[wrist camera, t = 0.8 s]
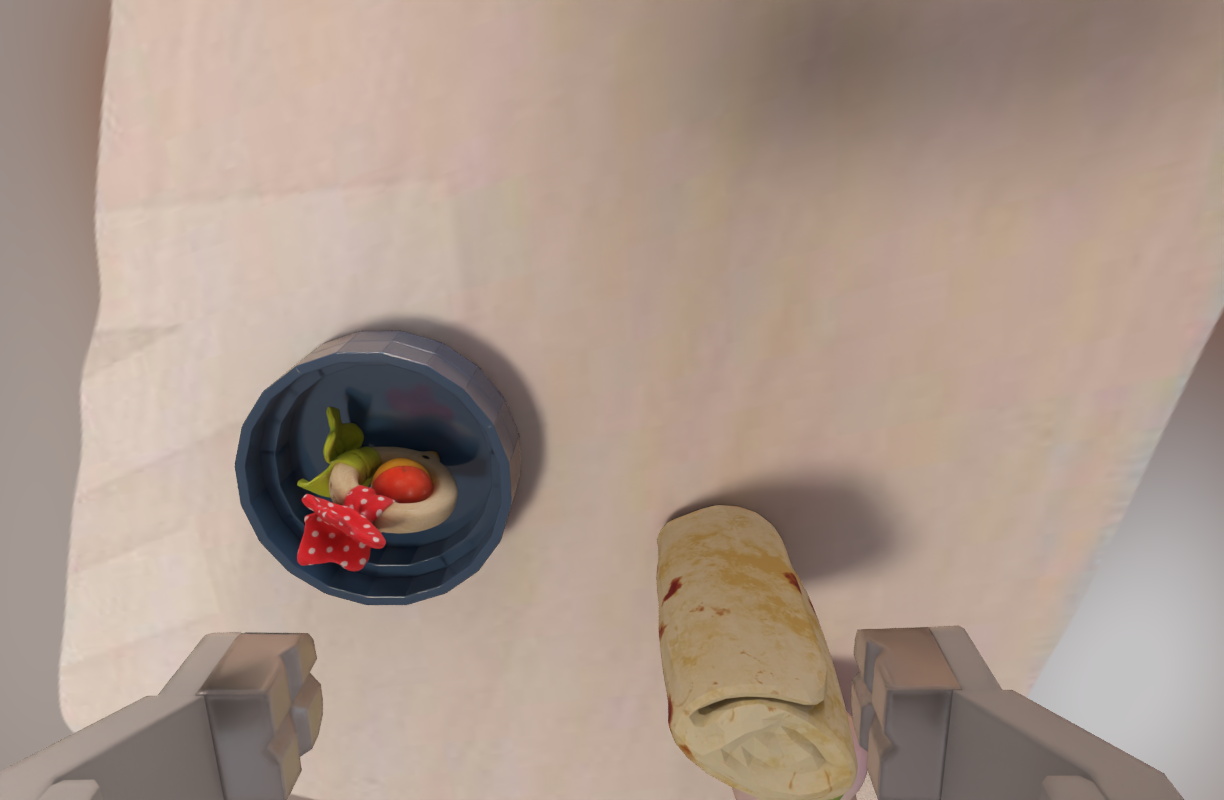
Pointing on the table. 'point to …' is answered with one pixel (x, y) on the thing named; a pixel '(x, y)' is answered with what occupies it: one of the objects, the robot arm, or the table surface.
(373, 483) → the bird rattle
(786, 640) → the food model
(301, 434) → the bowl
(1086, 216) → the table surface
